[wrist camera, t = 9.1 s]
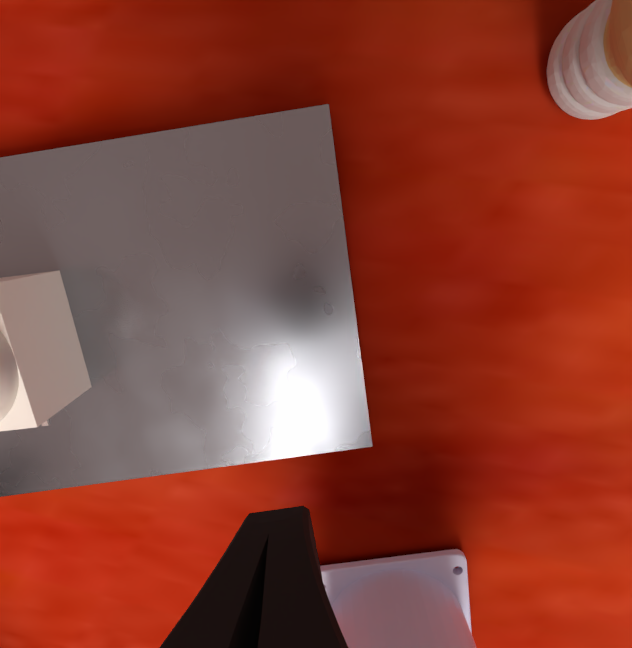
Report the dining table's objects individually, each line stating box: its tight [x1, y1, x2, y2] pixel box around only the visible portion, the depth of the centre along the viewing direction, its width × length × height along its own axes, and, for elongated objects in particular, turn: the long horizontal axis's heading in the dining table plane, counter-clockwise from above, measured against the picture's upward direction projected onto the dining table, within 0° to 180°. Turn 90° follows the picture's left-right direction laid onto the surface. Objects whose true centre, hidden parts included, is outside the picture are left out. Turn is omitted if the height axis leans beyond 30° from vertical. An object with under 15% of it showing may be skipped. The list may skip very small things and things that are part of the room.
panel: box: [0, 104, 373, 497], centre depth 16 cm, size 14×18×4 cm
